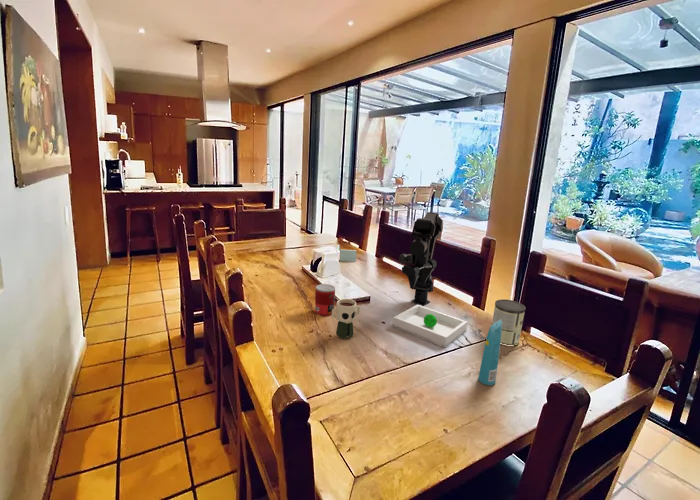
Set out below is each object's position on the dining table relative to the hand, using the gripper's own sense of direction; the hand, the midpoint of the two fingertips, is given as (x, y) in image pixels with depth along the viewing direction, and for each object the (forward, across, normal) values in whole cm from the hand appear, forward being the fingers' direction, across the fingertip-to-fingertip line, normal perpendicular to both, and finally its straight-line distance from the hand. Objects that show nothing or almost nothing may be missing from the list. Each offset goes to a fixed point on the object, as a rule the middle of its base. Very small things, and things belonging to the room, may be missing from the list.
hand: (417, 286), depth 154 cm
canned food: (+12, +28, -26) cm, 40 cm away
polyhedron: (+11, +9, +12) cm, 19 cm away
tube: (+12, +27, +41) cm, 51 cm away
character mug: (+12, +37, -7) cm, 40 cm away
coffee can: (+12, -4, +36) cm, 38 cm away
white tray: (+12, +9, +12) cm, 19 cm away
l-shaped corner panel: (+13, -38, -72) cm, 82 cm away
